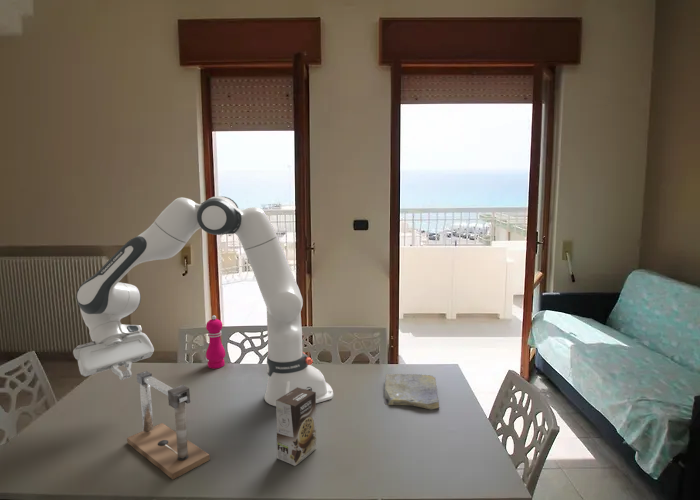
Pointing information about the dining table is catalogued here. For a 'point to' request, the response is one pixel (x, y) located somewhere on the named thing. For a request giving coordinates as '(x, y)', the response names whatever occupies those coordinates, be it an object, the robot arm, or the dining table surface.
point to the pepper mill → (215, 344)
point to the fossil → (411, 390)
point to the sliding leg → (145, 393)
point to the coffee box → (296, 425)
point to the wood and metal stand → (170, 441)
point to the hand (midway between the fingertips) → (126, 377)
